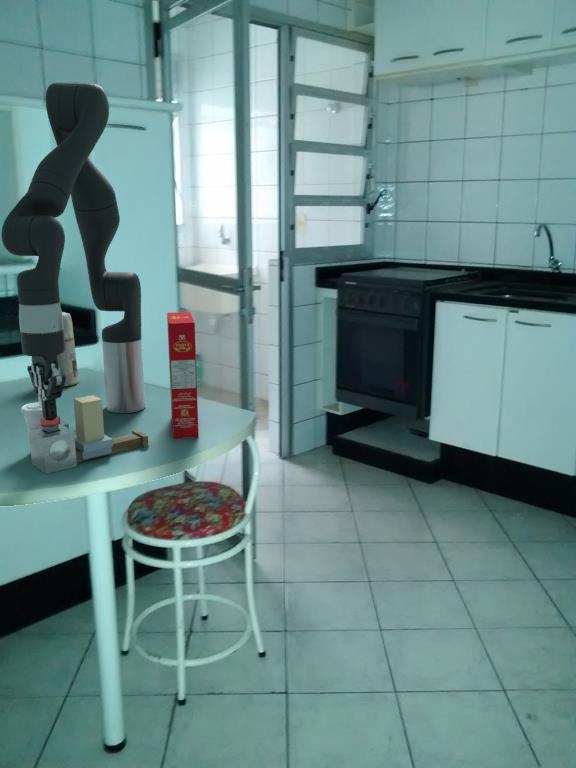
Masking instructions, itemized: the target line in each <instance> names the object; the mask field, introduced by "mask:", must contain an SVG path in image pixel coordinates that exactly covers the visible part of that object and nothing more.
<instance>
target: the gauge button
mask: <svg viewBox="0 0 576 768" xmlns="http://www.w3.org/2000/svg"><path fill="white" fill-rule="evenodd" d="M60 419H61V417H60V416H59V415H57V418H55V419H50V420H47V419H45V418H43V417H42V418H40V424H41V426H42V427H43V432H45V433H46V434H49V433H54V432H58V431H59V425H60V424H61V422H60Z"/></svg>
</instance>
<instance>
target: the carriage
mask: <svg viewBox="0 0 576 768" xmlns="http://www.w3.org/2000/svg"><path fill="white" fill-rule="evenodd" d="M73 406H74V408H73V409H74V410H73V411H74V422H75V430H76V431H75V432H76V434H74V437H75V447H76V448H77V449H79V450H80V451H81V459H83V460H84V459H88V458H92V457H96V456H100V455H104V454H109V453H112V448H111V447H112V446H113V438H112V437H109V436H108V435H107V434H105V427H104V413H103V399H102V398H100V397H98V396H96V395H94V394H93V395H87V396H81V397H75V398H73ZM60 422H61V424H62V425H64V426H65V427H67V428H69V429H70V423H69V422H66V421H65V420H63V419H61V418H60ZM109 455H110V454H109ZM84 461H85V460H84Z"/></svg>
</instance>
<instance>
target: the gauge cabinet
mask: <svg viewBox="0 0 576 768" xmlns="http://www.w3.org/2000/svg"><path fill="white" fill-rule="evenodd" d="M74 435H75V431H74V430H72V429H71V428H70V427H69V428H67V427H65V426H64V425H62V424H60V425H59V431H58V432H54V433H49V434H46V433H45V432H43V427H37V428H32V429H29V435H28V438H29V437H30V439H29V445H30V456H31V457H30V458H31V464H32V465H33V464H34V466H35V467H36V468H37V469H38V470H41V472H43V473H44V474H46V475H47V474H51V473H56V472H61V471H64V470H68V469H71V468H75V467H78V464H77V463H78V462H76V449H75V437H74Z"/></svg>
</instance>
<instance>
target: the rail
mask: <svg viewBox="0 0 576 768" xmlns="http://www.w3.org/2000/svg"><path fill="white" fill-rule="evenodd" d="M112 439H113V446H112V447H111V448H112V453H109V454H104V455H100V456H96V457H92V458H88V459H84V460H83V459H81V451H80V450H79V449H77V448H76V447H75V449H76V462H77V463H80V462H84V461H89V460H92V459H96V458H100V457H105V456H108V455H112V454H116V453H121V452H124V451H128V450H132V449H137V448H141V447H142V448H148V447H149V435H147V434H145V433H144V432H142V431H140V430H137V429H134V430H131V434H127V435H124V436H118V437H113V438H112Z"/></svg>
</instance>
